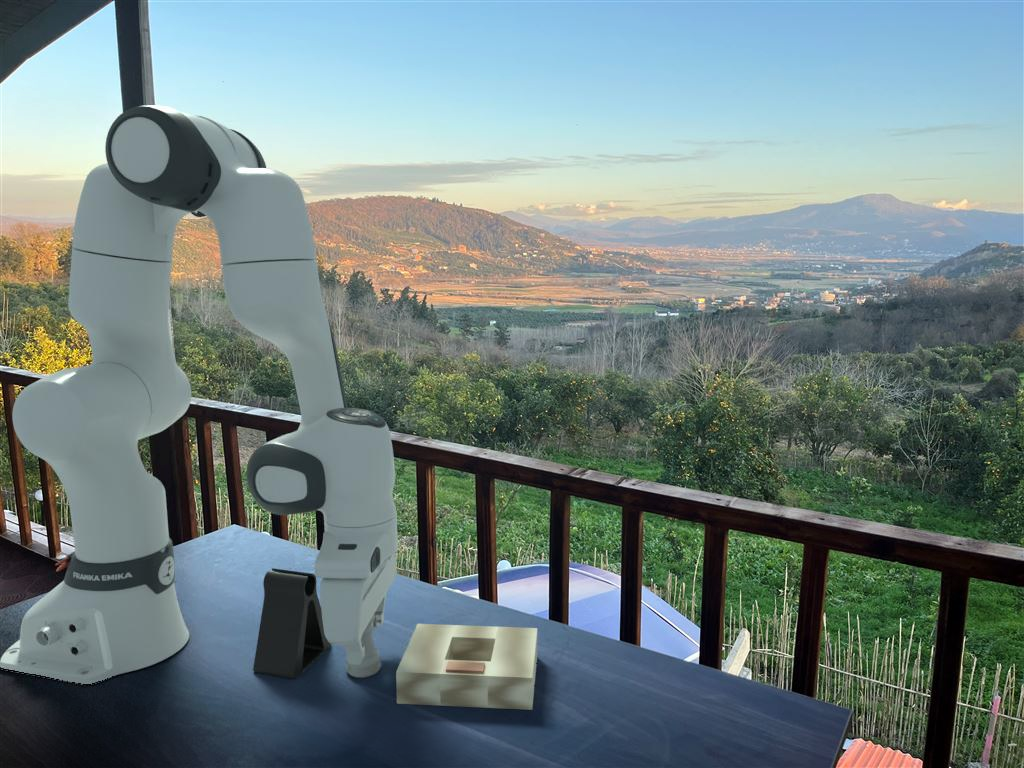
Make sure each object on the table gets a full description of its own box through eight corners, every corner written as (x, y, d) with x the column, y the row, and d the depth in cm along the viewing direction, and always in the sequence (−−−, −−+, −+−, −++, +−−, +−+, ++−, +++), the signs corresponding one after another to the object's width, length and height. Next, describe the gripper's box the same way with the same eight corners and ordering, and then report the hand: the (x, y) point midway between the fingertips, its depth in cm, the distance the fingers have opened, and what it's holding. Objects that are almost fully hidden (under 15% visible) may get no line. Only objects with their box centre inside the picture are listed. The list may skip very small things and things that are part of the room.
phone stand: (293, 639, 101) (289, 557, 100) (331, 645, 100) (328, 562, 98) (252, 672, 93) (247, 583, 91) (293, 680, 91) (289, 589, 89)
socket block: (396, 703, 86) (396, 669, 85) (418, 651, 98) (417, 621, 97) (532, 709, 85) (532, 675, 84) (537, 656, 97) (537, 626, 96)
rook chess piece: (373, 681, 91) (371, 620, 90) (340, 677, 92) (337, 617, 90) (386, 662, 95) (385, 604, 94) (354, 659, 96) (352, 601, 95)
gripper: (360, 511, 101) (365, 605, 103) (308, 570, 81) (315, 685, 83) (405, 511, 101) (408, 606, 103) (364, 570, 81) (369, 686, 83)
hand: (366, 642), depth 93 cm, fingers open, 8 cm apart
